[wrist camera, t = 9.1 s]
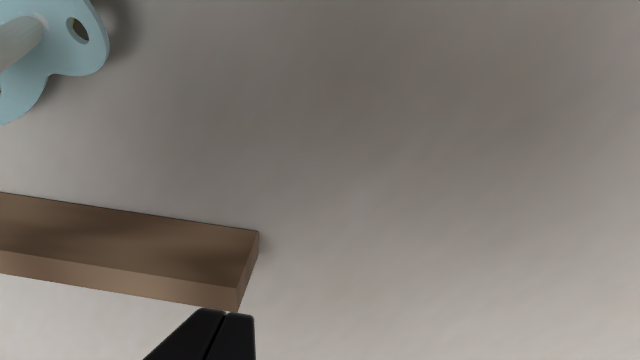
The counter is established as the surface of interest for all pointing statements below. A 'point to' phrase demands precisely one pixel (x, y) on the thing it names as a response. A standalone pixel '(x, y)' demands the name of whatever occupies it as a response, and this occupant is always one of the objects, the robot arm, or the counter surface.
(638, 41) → the counter surface
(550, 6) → the counter surface
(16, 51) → the pacifier
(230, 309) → the walnut bay
